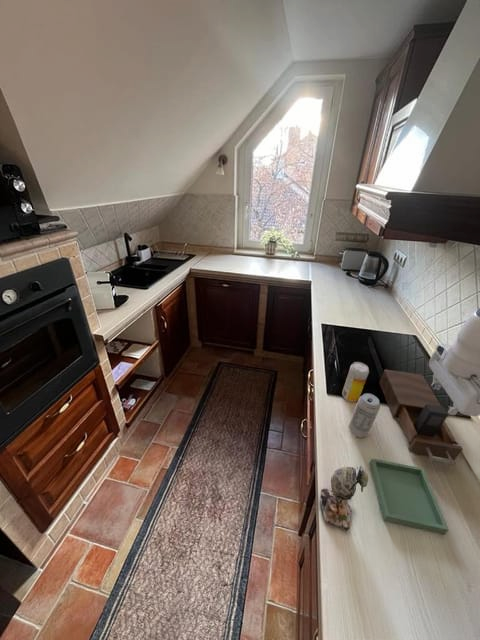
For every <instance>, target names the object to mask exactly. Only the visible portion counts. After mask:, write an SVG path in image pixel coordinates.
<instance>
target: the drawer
mask: <svg viewBox="0 0 480 640" xmlns="http://www.w3.org/2000/svg"><path fill="white" fill-rule="evenodd" d="M422 410H423V409H419V408H412V407H406V406H401V407H400V409H399V411H398V413H397V415H398V417H399V419H398V420H399V423H400V425H401V427H402V430H403V432H404V434H405V437H406V439H407V442H408V444H409V446H408V448H407V449H408V452H410V453H415V454H419V455H424V456H428V460H429V461H430V463H436V464H441V465H444V466H445V465H446V466H450V467H451V466H452V467H456V464H457V463H456V459H457V458H458V457H459V455H460V454H461V453H462V451H463V450H464V449H463V447H462V446H461V445H460V444H459V445H458V444H455V443H456V440H455V438H454V436H453V435H452V433H451V431H450V430H449V428H448V426H447V424H446V423H445V421H444V422H443V424H442V425H441V427H440V428H439V430H438V431H437V433H436V434H435V436H434V437H428V436H422V435H418V434H417V432H416V430H415V428H414V426H413V425H414V424H415V422H416V420H417V419H418V417H419V415H420V413H421V412H422Z"/></svg>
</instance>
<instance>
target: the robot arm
mask: <svg viewBox="0 0 480 640" xmlns="http://www.w3.org/2000/svg"><path fill="white" fill-rule="evenodd" d="M428 367H429V369H430V370H431V372H432V373H433V375H432V383H431V384H430V387H431V389H432V390H434V391H435V390H436V391H440V389H441V388H443V390H444V391H445V392H446V394H447V395H448V397H449V398H450V400H451V401H452V403H453V404H452V406H451V405H448V406H447V407H446V408H445V409H446V411H447V413H448V414H449V415H448V416H456V415H457V414H458V412H459V413H460V414H461V415H464V416H469V417H478V416H480V307H479V308H477V309H476V310H474V311H473V312H472V313H470V315H469V316H468V317H467V319H466V320H465V321H464V323H463V325H462V326H461V328H460V330H459V331H458V333H457V338H456V340H455V342H453V344H448V343H447V344H446V343H437V344H436V346H435V350H434V351H433V353H432V355H431V357H430V358H429V361H428Z"/></svg>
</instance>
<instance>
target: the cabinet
mask: <svg viewBox="0 0 480 640" xmlns="http://www.w3.org/2000/svg"><path fill="white" fill-rule="evenodd" d="M378 382H379V385H380V389H381V391H382V393H383V396H384V399H385V401H386V404H387V406H388V409H389V411H390V414H391V417H392V418H393V419H398V420H399V417H398V415H397V413H398V411H399V409H400V407H401V406H406V407H412V408H419V409H423V408H424V407H425V405H426V404H431V405H437V406H442V405H441V404H440V402H439V400H438V399H437V397H436V395H435V394H434V391H433V389H432V387H431V386H430V385H429V383H428V382H427V380H426V379H425V377H424V375H423V374H422V373H421V374H420V373H414V372H413V373H412V372H406V371H399V370H392V369H384V370H383V373H382V375H381V377H380V379H379V381H378Z"/></svg>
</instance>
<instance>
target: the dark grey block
mask: <svg viewBox="0 0 480 640" xmlns="http://www.w3.org/2000/svg"><path fill="white" fill-rule="evenodd" d="M446 409H447V408H446V407H445V406H443V405H441V406H437V405H431V404H426V405H425V407H424V408H423V410H422V412H421V413H420V415H419V417H418V419H417V420H416V422H415V424H414V425H413V426H414V428H415V430H416V432H417V434H418V435H422V436H428V437H434V436H435V434H436V433H437V431H438V430H439V428H440V427H441V425H442V424H443V422H444V423H445V421H446V419H447V418H448V416H450V415H449V414H448V412H447V410H446Z"/></svg>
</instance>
